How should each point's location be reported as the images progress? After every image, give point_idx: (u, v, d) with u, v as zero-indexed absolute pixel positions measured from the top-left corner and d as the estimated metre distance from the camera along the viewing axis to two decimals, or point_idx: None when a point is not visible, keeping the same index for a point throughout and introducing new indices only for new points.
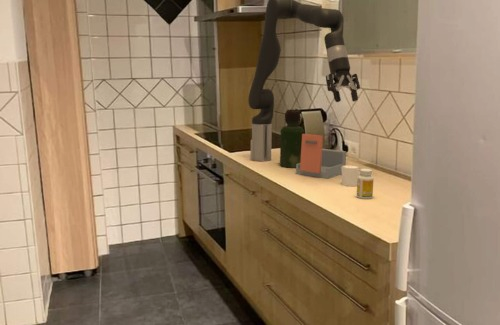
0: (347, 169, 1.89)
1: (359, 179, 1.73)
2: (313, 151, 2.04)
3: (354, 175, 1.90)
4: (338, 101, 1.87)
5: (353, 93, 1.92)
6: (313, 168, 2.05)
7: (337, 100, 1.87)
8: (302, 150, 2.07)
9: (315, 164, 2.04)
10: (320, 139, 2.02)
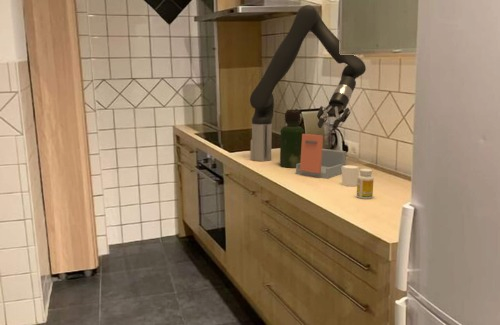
0: (347, 169, 1.89)
1: (359, 179, 1.73)
2: (313, 151, 2.04)
3: (354, 175, 1.90)
4: (334, 128, 2.11)
5: (322, 122, 2.16)
6: (313, 168, 2.05)
7: (334, 127, 2.11)
8: (302, 150, 2.07)
9: (315, 164, 2.04)
10: (320, 139, 2.02)
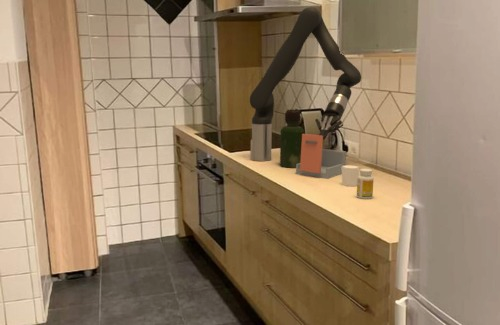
0: (347, 169, 1.89)
1: (359, 179, 1.73)
2: (313, 151, 2.04)
3: (354, 175, 1.90)
4: None
5: None
6: (313, 168, 2.05)
7: (323, 138, 2.10)
8: (302, 150, 2.07)
9: (315, 164, 2.04)
10: (320, 139, 2.02)
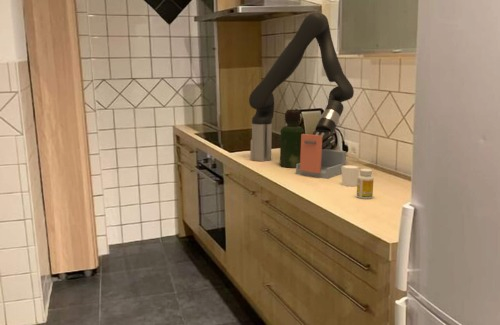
0: (347, 169, 1.89)
1: (359, 179, 1.73)
2: (313, 151, 2.04)
3: (354, 175, 1.90)
4: None
5: None
6: (312, 168, 2.05)
7: None
8: (302, 150, 2.07)
9: (315, 164, 2.04)
10: (319, 139, 2.01)
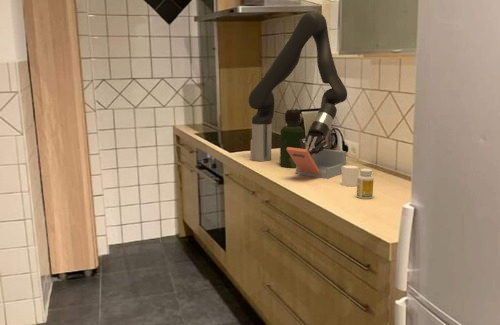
0: (347, 169, 1.89)
1: (359, 179, 1.73)
2: (304, 161, 2.00)
3: (354, 175, 1.90)
4: None
5: None
6: (311, 171, 2.04)
7: None
8: (293, 159, 2.03)
9: (312, 169, 2.02)
10: (306, 154, 1.94)
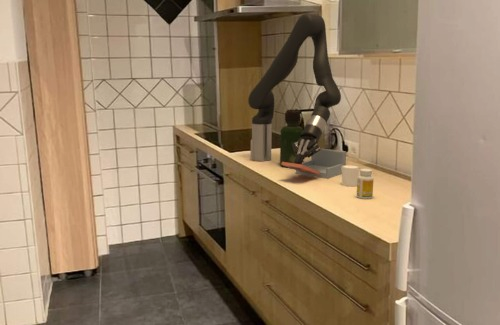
0: (347, 169, 1.89)
1: (359, 179, 1.73)
2: (302, 169, 1.99)
3: (354, 175, 1.90)
4: None
5: None
6: None
7: (299, 163, 1.97)
8: None
9: (311, 172, 2.02)
10: (302, 168, 1.93)
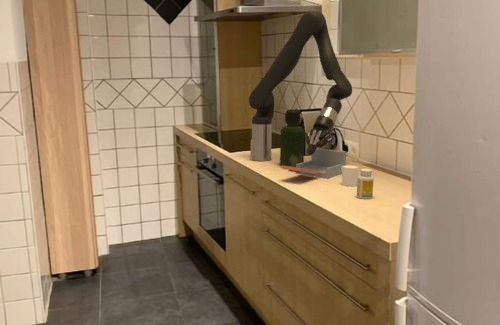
0: (347, 169, 1.89)
1: (359, 179, 1.73)
2: None
3: (354, 175, 1.90)
4: (310, 154, 2.05)
5: None
6: None
7: (311, 152, 2.04)
8: None
9: None
10: (301, 171, 1.93)
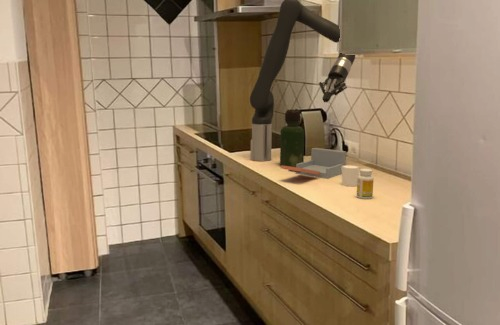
0: (347, 169, 1.89)
1: (359, 179, 1.73)
2: None
3: (354, 175, 1.90)
4: (326, 101, 2.10)
5: None
6: None
7: (326, 100, 2.10)
8: None
9: None
10: (301, 171, 1.93)
